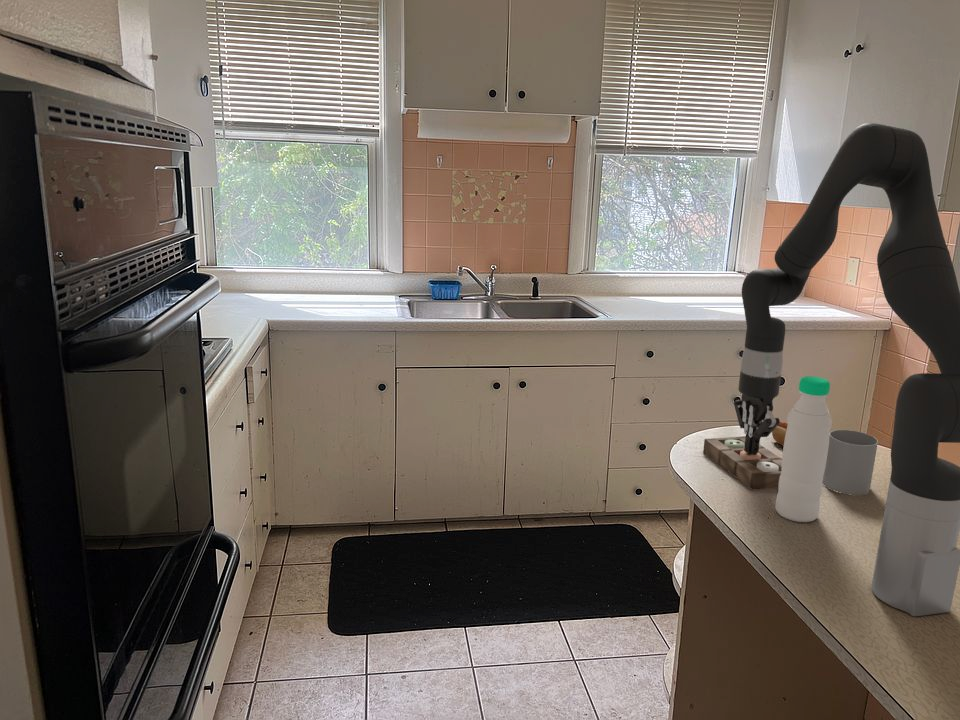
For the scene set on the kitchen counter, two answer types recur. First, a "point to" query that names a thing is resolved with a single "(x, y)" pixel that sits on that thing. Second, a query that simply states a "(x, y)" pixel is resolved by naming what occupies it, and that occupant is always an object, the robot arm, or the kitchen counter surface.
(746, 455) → the button three
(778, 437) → the food
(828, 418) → the water bottle
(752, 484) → the wooden compartment tray
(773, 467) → the button one
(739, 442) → the button two
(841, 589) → the kitchen counter surface
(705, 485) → the kitchen counter surface
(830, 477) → the cup
